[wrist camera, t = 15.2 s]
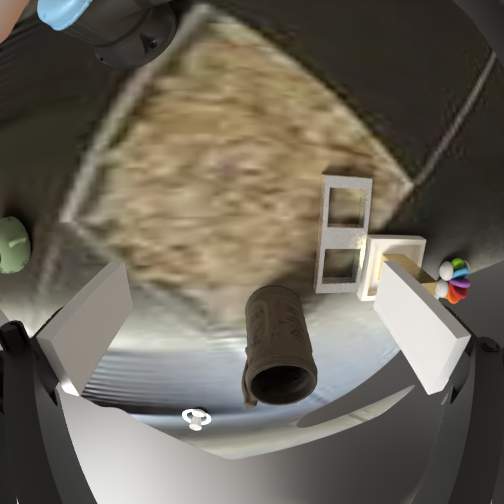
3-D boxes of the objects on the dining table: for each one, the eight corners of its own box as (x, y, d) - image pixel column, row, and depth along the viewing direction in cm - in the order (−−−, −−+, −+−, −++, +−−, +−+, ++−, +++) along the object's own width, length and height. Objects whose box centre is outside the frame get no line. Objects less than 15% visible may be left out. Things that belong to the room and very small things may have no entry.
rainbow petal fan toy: (429, 295, 50) (446, 312, 44) (439, 254, 47) (459, 268, 40) (454, 292, 50) (471, 308, 43) (465, 254, 47) (484, 267, 40)
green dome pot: (15, 270, 48) (-6, 285, 40) (-3, 223, 44) (-26, 234, 36) (49, 256, 47) (25, 272, 39) (29, 200, 42) (3, 211, 34)
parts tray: (366, 234, 45) (371, 238, 43) (419, 235, 45) (426, 239, 43) (356, 294, 49) (361, 301, 47) (407, 291, 50) (413, 297, 47)
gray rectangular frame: (321, 173, 42) (325, 175, 39) (366, 177, 42) (372, 178, 39) (313, 286, 49) (315, 293, 46) (353, 285, 49) (358, 291, 46)
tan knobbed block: (381, 254, 46) (414, 285, 34) (403, 254, 46) (438, 283, 34) (377, 278, 48) (406, 313, 36) (398, 278, 48) (430, 311, 36)
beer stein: (260, 273, 48) (260, 355, 30) (313, 293, 49) (335, 374, 31) (230, 332, 54) (219, 413, 36) (276, 348, 55) (281, 427, 37)
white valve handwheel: (196, 403, 62) (194, 415, 58) (219, 416, 64) (218, 428, 60) (177, 413, 64) (174, 424, 60) (198, 425, 66) (197, 436, 62)
